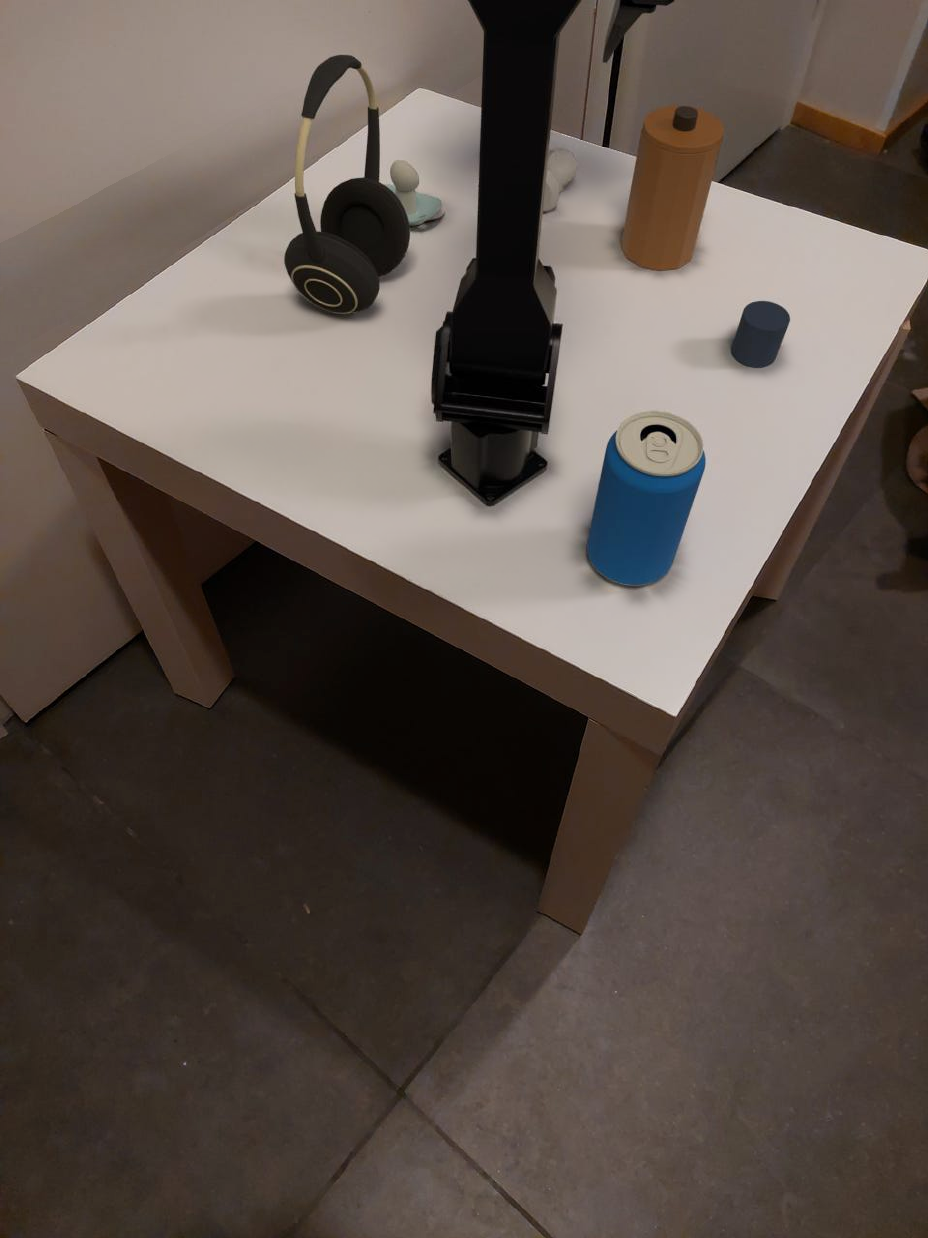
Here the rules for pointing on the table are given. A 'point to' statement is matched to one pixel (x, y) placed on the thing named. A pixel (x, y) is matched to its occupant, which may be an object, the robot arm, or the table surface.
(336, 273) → the headphones
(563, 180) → the pale two-lobed sculpture
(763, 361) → the dark navy cylinder
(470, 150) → the table surface
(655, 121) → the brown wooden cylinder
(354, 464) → the table surface
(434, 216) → the pacifier
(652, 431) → the beverage can
